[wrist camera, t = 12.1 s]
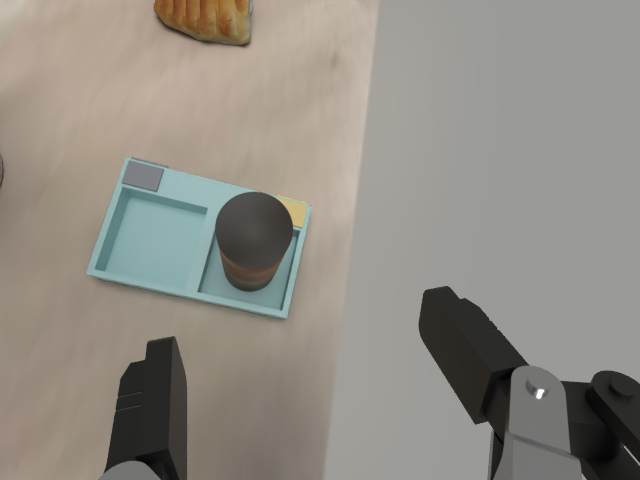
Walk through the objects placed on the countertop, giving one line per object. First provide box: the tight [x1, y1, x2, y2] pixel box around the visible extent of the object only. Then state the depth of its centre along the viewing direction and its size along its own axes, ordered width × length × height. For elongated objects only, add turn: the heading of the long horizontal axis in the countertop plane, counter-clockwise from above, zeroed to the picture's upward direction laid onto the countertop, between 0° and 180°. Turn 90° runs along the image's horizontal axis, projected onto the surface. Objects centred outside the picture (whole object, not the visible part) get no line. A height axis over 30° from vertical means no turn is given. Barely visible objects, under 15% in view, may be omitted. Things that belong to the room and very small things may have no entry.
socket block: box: [86, 157, 312, 319], centre depth 36 cm, size 16×10×3 cm, turn 78°
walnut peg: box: [215, 192, 293, 292], centre depth 31 cm, size 5×5×13 cm
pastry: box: [154, 0, 253, 45], centre depth 41 cm, size 9×7×4 cm
